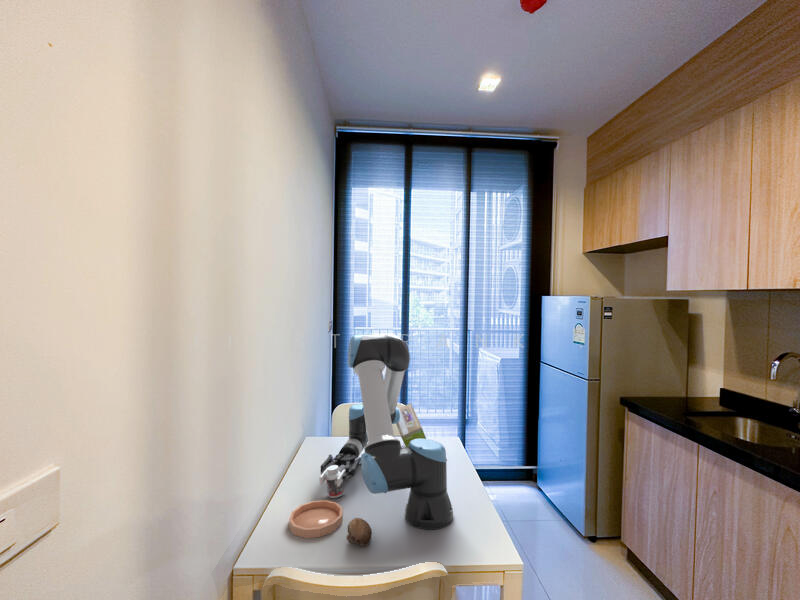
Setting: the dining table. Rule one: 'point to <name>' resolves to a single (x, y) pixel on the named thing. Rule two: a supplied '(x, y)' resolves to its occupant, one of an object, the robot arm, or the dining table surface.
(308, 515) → the bowl
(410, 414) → the tea box
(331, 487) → the pill bottle
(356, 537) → the mushroom
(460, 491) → the dining table surface
